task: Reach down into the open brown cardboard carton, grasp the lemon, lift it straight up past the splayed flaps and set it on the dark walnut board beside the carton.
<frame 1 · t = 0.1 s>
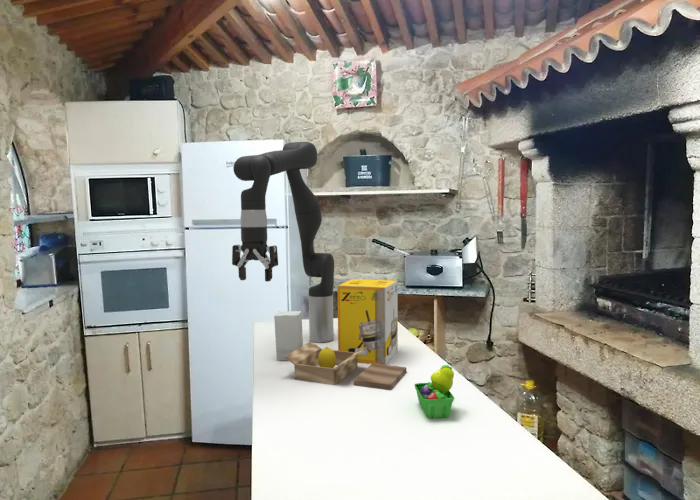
hand: (255, 280, 146), 29 cm above the countertop, tool pointing down, fingers open, 8 cm apart
packaging box: (368, 356, 169), on the countertop
fruit basket: (435, 411, 123), on the countertop
lemon: (327, 373, 152), resting in carton
skincare box: (289, 358, 167), on the countertop
walnut board: (380, 378, 146), on the countertop
carton: (327, 372, 152), on the countertop
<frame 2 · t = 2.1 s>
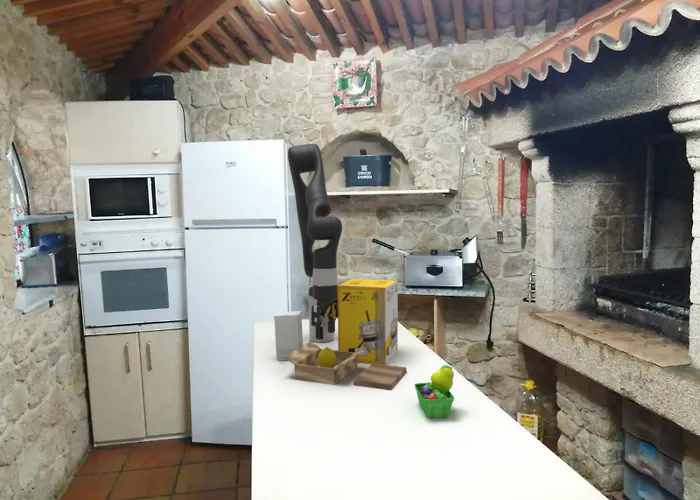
hand: (325, 335, 150), 12 cm above the countertop, tool pointing down, fingers open, 8 cm apart
nothing on the countertop moved.
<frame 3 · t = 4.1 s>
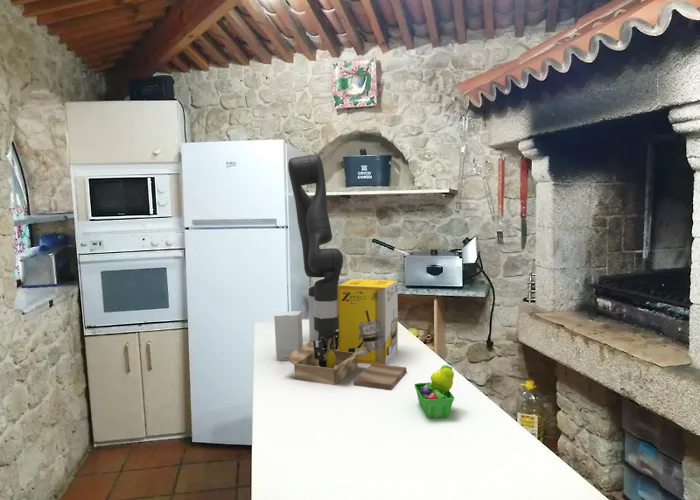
hand: (327, 368, 151), 1 cm above the countertop, tool pointing down, fingers closed on lemon, 5 cm apart
lemon: (327, 373, 152), resting in carton, touching gripper
everything else where it was.
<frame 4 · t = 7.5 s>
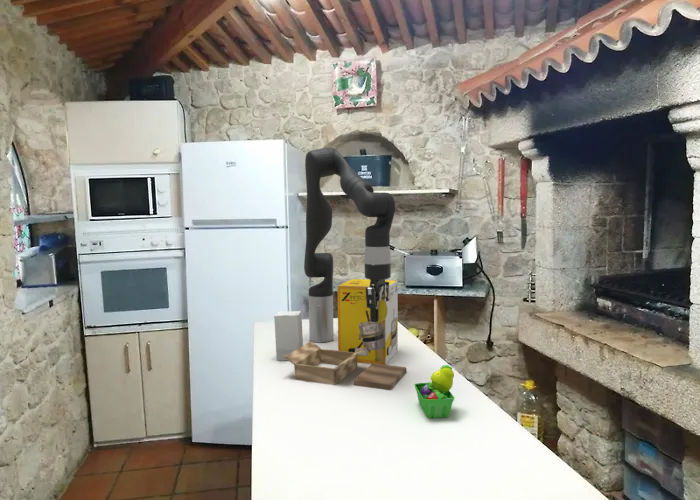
hand: (378, 319, 144), 18 cm above the countertop, tool pointing down, fingers closed on lemon, 5 cm apart
lemon: (378, 324, 145), point 16 cm above the countertop, touching gripper
everything else where it was.
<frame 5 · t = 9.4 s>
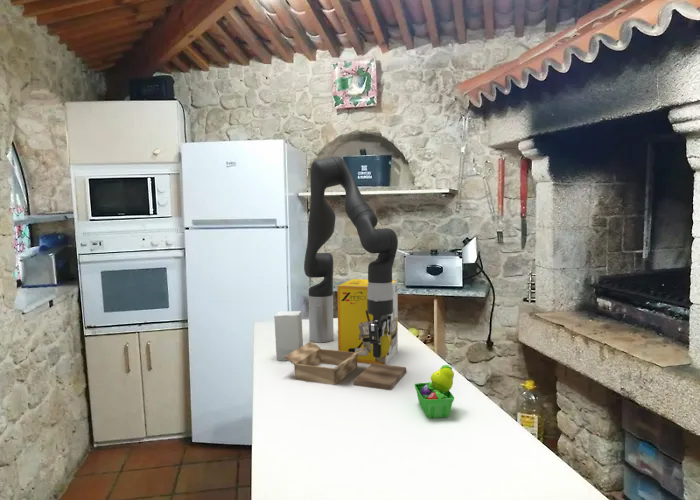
hand: (380, 353, 145), 7 cm above the countertop, tool pointing down, fingers closed on lemon, 5 cm apart
lemon: (380, 358, 146), point 6 cm above the countertop, touching gripper
everything else where it was.
when the fingers open (4 cm above the countertop, at t = 11.0 s): lemon drops 1 cm, resting on walnut board.
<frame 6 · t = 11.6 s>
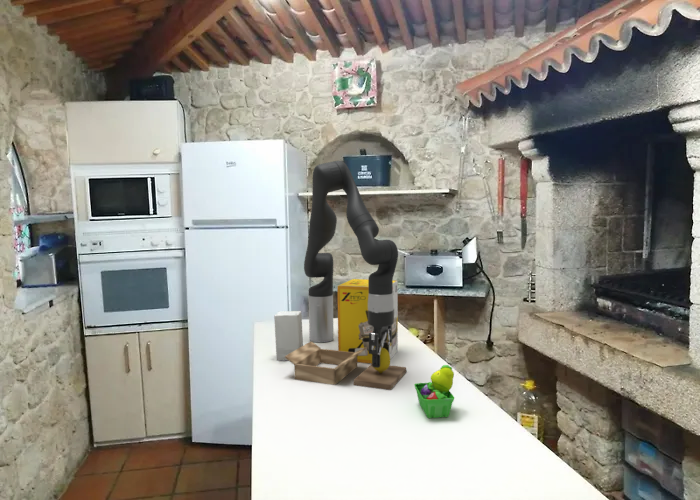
hand: (380, 362, 146), 5 cm above the countertop, tool pointing down, fingers open, 8 cm apart
lemon: (380, 373, 146), point 1 cm above the countertop, touching walnut board
everything else where it was.
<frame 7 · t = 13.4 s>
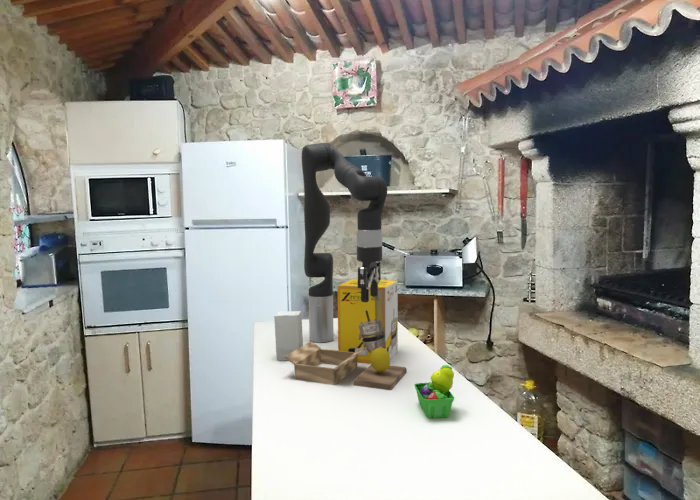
hand: (369, 298, 147), 23 cm above the countertop, tool pointing down, fingers open, 8 cm apart
nothing on the countertop moved.
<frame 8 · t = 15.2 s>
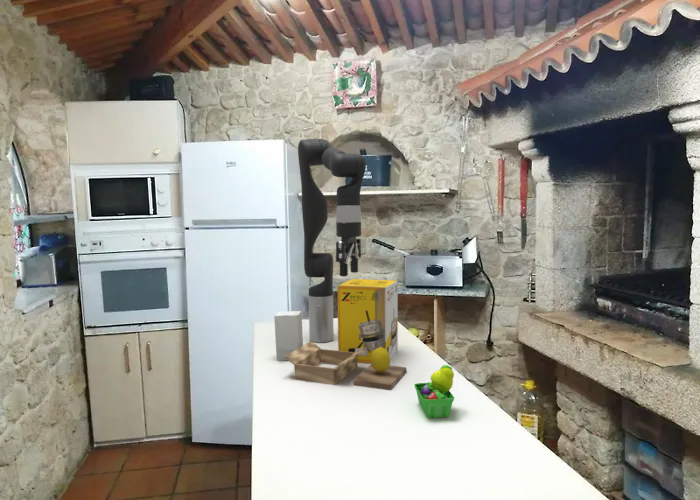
hand: (349, 274, 150), 30 cm above the countertop, tool pointing down, fingers open, 8 cm apart
nothing on the countertop moved.
at the end: lemon inside the target area on the walnut board (0.1 cm from its centre), point 1.3 cm above the walnut board's base; the gripper is holding nothing; lemon moved 17.0 cm from its start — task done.
